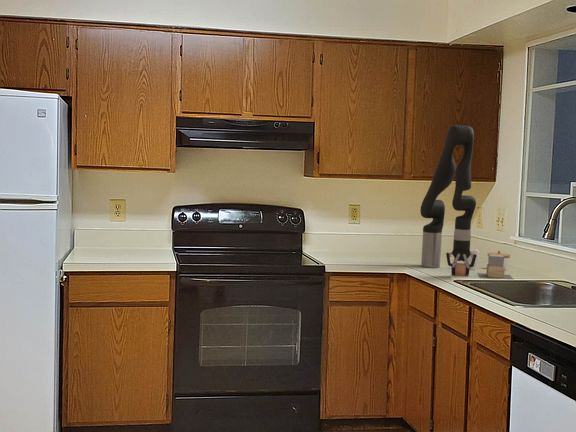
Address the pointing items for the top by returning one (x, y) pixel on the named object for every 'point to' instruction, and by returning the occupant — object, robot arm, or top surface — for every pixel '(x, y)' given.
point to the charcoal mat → (483, 275)
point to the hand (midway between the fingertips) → (459, 275)
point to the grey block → (496, 260)
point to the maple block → (495, 271)
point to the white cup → (475, 267)
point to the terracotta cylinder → (460, 269)
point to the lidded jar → (506, 258)
